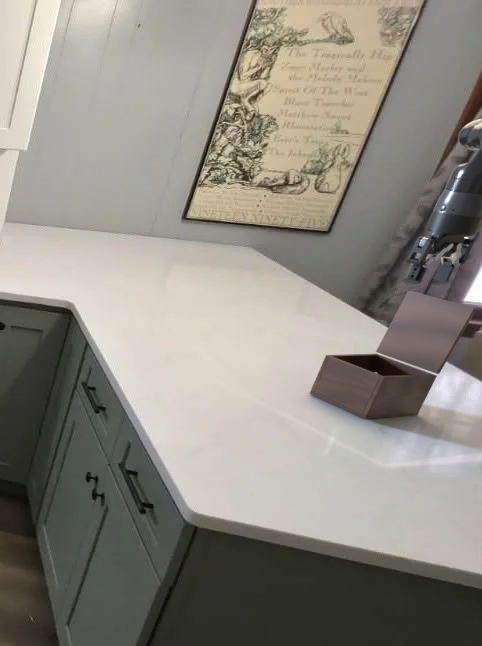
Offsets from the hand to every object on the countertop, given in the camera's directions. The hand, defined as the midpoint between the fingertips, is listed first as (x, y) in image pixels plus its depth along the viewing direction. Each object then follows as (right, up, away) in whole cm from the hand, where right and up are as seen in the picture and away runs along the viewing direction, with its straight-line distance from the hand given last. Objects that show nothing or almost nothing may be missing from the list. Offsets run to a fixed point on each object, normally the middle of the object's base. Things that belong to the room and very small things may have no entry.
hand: (426, 281), depth 144 cm
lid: (+5, -12, +5) cm, 14 cm away
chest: (-4, -30, +11) cm, 32 cm away
